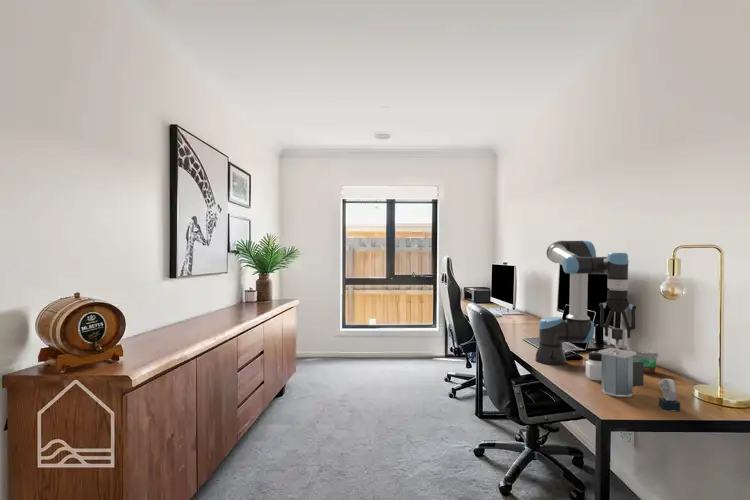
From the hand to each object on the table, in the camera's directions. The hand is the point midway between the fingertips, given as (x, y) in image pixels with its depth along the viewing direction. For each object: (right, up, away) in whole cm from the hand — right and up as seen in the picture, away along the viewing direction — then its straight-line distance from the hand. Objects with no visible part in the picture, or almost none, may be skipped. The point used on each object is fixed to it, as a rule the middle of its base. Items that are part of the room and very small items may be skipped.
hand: (617, 345), depth 182 cm
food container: (+31, -21, +31) cm, 49 cm away
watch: (+10, -20, -17) cm, 29 cm away
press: (+2, -20, +1) cm, 20 cm away
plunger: (0, -17, 0) cm, 17 cm away
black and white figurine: (+2, -20, +21) cm, 29 cm away
